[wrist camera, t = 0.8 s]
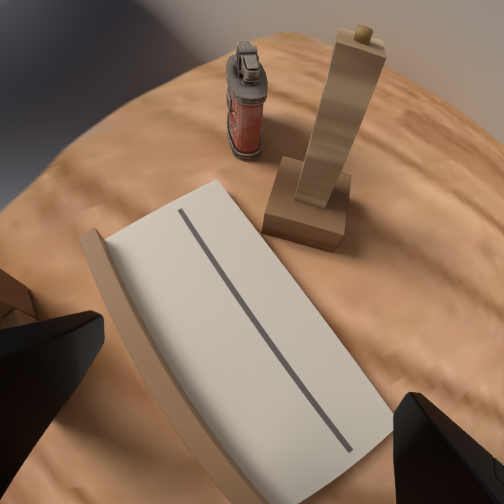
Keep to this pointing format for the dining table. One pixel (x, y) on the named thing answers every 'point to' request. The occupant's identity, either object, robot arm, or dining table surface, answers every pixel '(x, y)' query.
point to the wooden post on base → (327, 149)
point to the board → (235, 350)
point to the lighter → (245, 101)
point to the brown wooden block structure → (14, 303)
